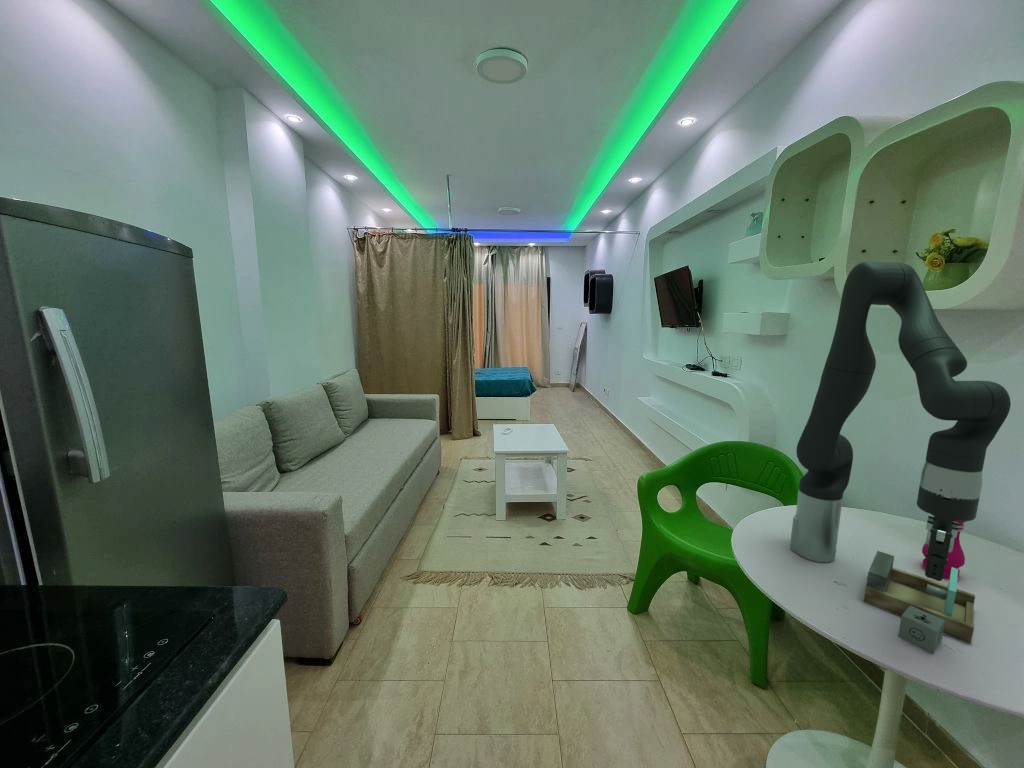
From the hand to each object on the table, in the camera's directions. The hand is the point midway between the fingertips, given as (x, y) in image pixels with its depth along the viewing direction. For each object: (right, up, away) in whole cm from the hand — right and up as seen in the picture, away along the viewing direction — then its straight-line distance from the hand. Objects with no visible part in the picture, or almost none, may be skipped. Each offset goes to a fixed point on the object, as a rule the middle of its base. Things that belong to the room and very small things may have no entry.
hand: (934, 568), depth 77 cm
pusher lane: (+9, -14, +12) cm, 21 cm away
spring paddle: (+11, -13, +10) cm, 20 cm away
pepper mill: (+26, -12, +23) cm, 37 cm away
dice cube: (0, -16, +3) cm, 16 cm away
